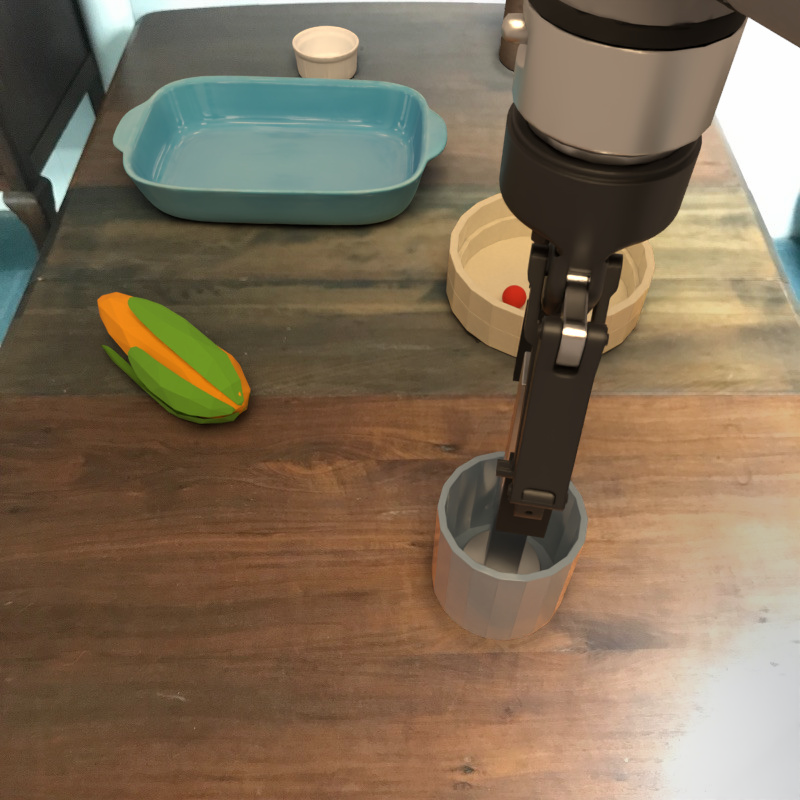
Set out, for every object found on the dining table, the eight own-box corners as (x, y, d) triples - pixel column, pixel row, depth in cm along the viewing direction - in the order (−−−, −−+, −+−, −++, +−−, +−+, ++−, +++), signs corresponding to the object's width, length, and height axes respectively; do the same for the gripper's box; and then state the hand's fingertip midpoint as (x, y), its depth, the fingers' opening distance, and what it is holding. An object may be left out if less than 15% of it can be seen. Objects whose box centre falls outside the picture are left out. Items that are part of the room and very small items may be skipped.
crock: (589, 594, 60) (619, 528, 52) (486, 669, 57) (501, 610, 49) (505, 501, 65) (521, 429, 58) (405, 564, 62) (408, 496, 54)
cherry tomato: (529, 308, 79) (533, 290, 77) (511, 317, 78) (514, 300, 76) (514, 294, 80) (517, 276, 78) (495, 303, 79) (498, 286, 77)
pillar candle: (488, 47, 113) (500, -67, 102) (551, 37, 115) (569, -76, 104) (514, 81, 107) (530, -36, 96) (580, 70, 109) (602, -45, 98)
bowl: (680, 312, 80) (698, 267, 75) (531, 398, 72) (541, 354, 68) (550, 211, 90) (559, 166, 85) (408, 278, 82) (409, 232, 78)
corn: (196, 402, 62) (50, 284, 70) (208, 462, 67) (72, 346, 76) (267, 354, 66) (121, 248, 74) (273, 414, 71) (136, 309, 79)
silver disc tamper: (553, 585, 60) (627, 381, 41) (491, 628, 58) (540, 433, 39) (502, 528, 63) (550, 314, 45) (442, 567, 61) (466, 359, 42)
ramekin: (286, 63, 110) (282, 32, 106) (345, 50, 112) (343, 20, 109) (308, 94, 105) (306, 63, 101) (370, 80, 107) (369, 49, 104)
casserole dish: (104, 236, 86) (85, 180, 80) (153, 122, 100) (140, 68, 95) (443, 249, 85) (447, 193, 80) (444, 132, 99) (448, 79, 94)
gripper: (530, -25, 38) (486, 308, 55) (474, 306, 24) (437, 616, 41) (690, -11, 37) (594, 322, 54) (733, 340, 23) (584, 641, 40)
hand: (527, 448), depth 47 cm, fingers open, 10 cm apart
